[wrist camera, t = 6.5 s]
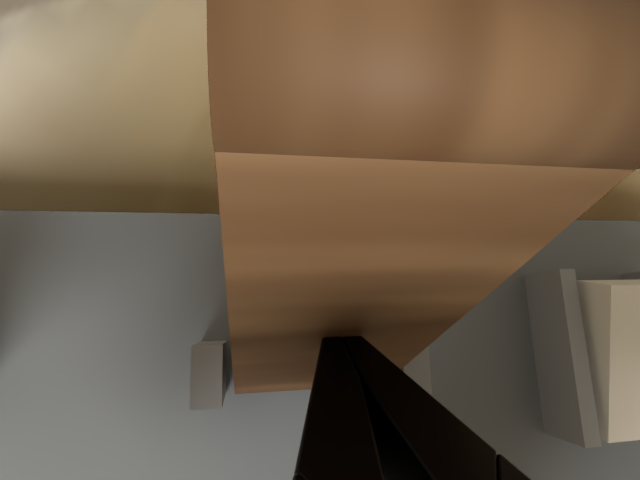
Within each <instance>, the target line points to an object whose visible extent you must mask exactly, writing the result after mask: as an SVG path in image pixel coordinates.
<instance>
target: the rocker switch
mask: <svg viewBox="0 0 640 480" xmlns="http://www.w3.org/2000/svg"><path fill="white" fill-rule="evenodd" d="M577 286H578V293H579V299H580V306H581V313H582V319H583V326H584V332H585V339H586V346H587V352H588V359H589V365H590V372H591V379H592V385H593V392H594V399H595V405H596V412H597V418H598V425H599V432H600V438H601V439H602V440H604V441H606V442H607V443H615V442H625V441H635V440H640V279H639V280H577Z"/></svg>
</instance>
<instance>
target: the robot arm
mask: <svg viewBox="0 0 640 480" xmlns="http://www.w3.org/2000/svg"><path fill="white" fill-rule="evenodd" d="M292 480H531V479H530V478H529V477H528V476H526V475H525V474H524V473H523V472H521V471H520V470H519V469H518V468H517V467H516V466H514V465H513V464H512V463H511V462H510V461H509V460H507V459H506V458H505V457H504V456H503V455H501V454H498V455H497V452H496V450H495V449H493V448H492V447H491V446H490V445H489V444H488V443H486V442H485V441H484V440H483V439H482V438H481V437H479V436H478V435H477V434H476V433H475V432H474V431H472V430H471V429H470V428H469V427H468V426H467V425H465V424H464V423H463V422H462V421H461V420H460V419H458V418H457V417H456V416H455V415H454V414H452V413H451V412H450V411H449V410H448V409H447V408H445V407H444V406H443V405H442V404H441V403H440V402H438V401H437V400H436V399H435V398H434V397H433V396H431V395H430V394H429V393H428V392H427V391H426V390H424V389H423V388H422V387H421V386H420V385H419V384H417V383H416V382H415V381H414V380H413V379H412V378H410V377H409V376H408V375H407V374H406V373H405V372H403V371H402V370H401V369H400V368H399V367H397V366H396V365H395V364H394V363H393V362H392V361H390V360H389V359H388V358H387V357H386V356H385V355H383V354H382V353H381V352H380V351H379V350H378V349H376V348H375V347H374V346H373V345H372V344H371V343H369V342H368V341H367V340H366V339H365V338H364V337H362V336H346V337H343V338H341V337H324V338H322V340H321V344H320V349H319V354H318V359H317V364H316V369H315V374H314V379H313V383H312V388H311V393H310V398H309V403H308V408H307V413H306V418H305V422H304V427H303V432H302V437H301V442H300V447H299V452H298V456H297V461H296V466H295V471H294V476H293V479H292Z"/></svg>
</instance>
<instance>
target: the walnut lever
mask: <svg viewBox="0 0 640 480" xmlns="http://www.w3.org/2000/svg"><path fill="white" fill-rule="evenodd" d="M207 52H208V81H209V100H210V115H211V127H212V137H213V145H214V151H215V161H216V173H217V185H218V197H219V209H220V221H221V233H222V246H223V258H224V270H225V282H226V294H227V306H228V318H229V331H230V343H231V355H232V367H233V379H234V391H235V394H244V393H261V392H277V391H293V390H310V389H311V388H312V383H313V379H314V374H315V369H316V364H317V359H318V354H319V349H320V344H321V340H322V338H324V337H341V338H343V337H346V336H362V337H364V338H365V339H366V340H367V341H368V342H369V343H371V344H372V345H373V346H374V347H375V348H376V349H378V350H379V351H380V352H381V353H382V354H383V355H385V356H386V357H387V358H388V359H389V360H390V361H392V362H393V363H394V364H395V365H396V366H397V367H399V368H400V369H402V368H403V367H404V366H406V365H407V364H408V363H409V362H410V361H411V360H413V359H414V358H415V357H416V356H417V355H418V354H420V353H421V352H422V351H423V350H424V349H425V348H427V347H428V346H429V345H430V344H431V343H432V342H434V341H435V340H436V339H437V338H438V337H439V336H441V335H442V334H443V333H444V332H445V331H446V330H448V329H449V328H450V327H451V326H452V325H453V324H455V323H456V322H457V321H458V320H459V319H461V318H462V317H463V316H464V315H465V314H466V313H468V312H469V311H470V310H471V309H472V308H473V307H475V306H476V305H477V304H478V303H479V302H480V301H482V300H483V299H484V298H485V297H486V296H487V295H489V294H490V293H491V292H492V291H493V290H494V289H496V288H497V287H498V286H499V285H500V284H501V283H503V282H504V281H505V280H506V279H507V278H508V277H510V276H511V275H512V274H513V273H514V272H515V271H517V270H518V269H519V268H520V267H521V266H522V265H524V264H525V263H526V262H527V261H528V260H529V259H531V258H532V257H533V256H534V255H535V254H536V253H538V252H539V251H540V250H541V249H542V248H543V247H545V246H546V245H547V244H548V243H549V242H550V241H552V240H553V239H554V238H555V237H556V236H557V235H559V234H560V233H561V232H562V231H563V230H564V229H566V228H567V227H568V226H569V225H570V224H571V223H573V222H574V221H575V220H576V219H577V218H578V217H580V216H581V215H582V214H583V213H584V212H585V211H587V210H588V209H589V208H590V207H591V206H592V205H594V204H595V203H596V202H597V201H598V200H599V199H601V198H602V197H603V196H604V195H605V194H606V193H608V192H609V191H610V190H611V189H612V188H613V187H615V186H616V185H617V184H618V183H619V182H620V181H622V180H623V179H624V178H625V177H626V176H627V175H629V174H630V173H631V172H632V171H633V170H636V169H639V168H640V0H207Z"/></svg>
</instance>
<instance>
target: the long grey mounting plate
mask: <svg viewBox="0 0 640 480" xmlns="http://www.w3.org/2000/svg"><path fill="white" fill-rule="evenodd" d="M639 279H640V221H620V220H575V221H574V222H573V223H571V224H570V225H569V226H568V227H567V228H566V229H564V230H563V231H562V232H561V233H560V234H559V235H557V236H556V237H555V238H554V239H553V240H552V241H550V242H549V243H548V244H547V245H546V246H545V247H543V248H542V249H541V250H540V251H539V252H538V253H536V254H535V255H534V256H533V257H532V258H531V259H529V260H528V261H527V262H526V263H525V264H524V265H522V266H521V267H520V268H519V269H518V270H517V271H515V272H514V273H513V274H512V275H511V276H510V277H508V278H507V279H506V280H505V281H504V282H503V283H501V284H500V285H499V286H498V287H497V288H496V289H494V290H493V291H492V292H491V293H490V294H489V295H487V296H486V297H485V298H484V299H483V300H482V301H480V302H479V303H478V304H477V305H476V306H475V307H473V308H472V309H471V310H470V311H469V312H468V313H466V314H465V315H464V316H463V317H462V318H461V319H459V320H458V321H457V322H456V323H455V324H453V325H452V326H451V327H450V328H449V329H448V330H446V331H445V332H444V333H443V334H442V335H441V336H439V337H438V338H437V339H436V340H435V341H434V342H432V343H431V344H430V345H429V346H428V347H427V348H425V349H424V350H423V351H422V352H421V353H420V354H418V355H417V356H416V357H415V358H414V359H413V360H411V361H410V362H409V363H408V364H407V365H406V366H404V367H403V368H402V369H401V370H402V371H403V372H405V373H406V374H407V375H408V376H409V377H410V378H412V379H413V380H414V381H415V382H416V383H417V384H419V385H420V386H421V387H422V388H423V389H424V390H426V391H427V392H428V393H429V394H430V395H431V396H433V397H434V398H435V399H436V400H437V401H438V402H440V403H441V404H442V405H443V406H444V407H445V408H447V409H448V410H449V411H450V412H451V413H452V414H454V415H455V416H456V417H457V418H458V419H460V420H461V421H462V422H463V423H464V424H465V425H467V426H468V427H469V428H470V429H471V430H472V431H474V432H475V433H476V434H477V435H478V436H479V437H481V438H482V439H483V440H484V441H485V442H486V443H488V444H489V445H490V446H491V447H492V448H493V449H495V450H496V452H497V455H498V454H501V455H503V456H504V457H505V458H506V459H507V460H509V461H510V462H511V463H512V464H513V465H514V466H516V467H517V468H518V469H519V470H520V471H521V472H523V473H524V474H525V475H526V476H528V477H529V478H530V479H531V480H640V440H635V441H625V442H615V443H607V442H606V441H604V440H602V439H601V438H600V432H599V425H598V418H597V412H596V405H595V399H594V392H593V385H592V379H591V372H590V365H589V359H588V352H587V346H586V339H585V332H584V326H583V319H582V313H581V306H580V299H579V293H578V286H577V280H639ZM310 393H311V389H310V390H293V391H277V392H261V393H244V394H235V391H234V379H233V367H232V355H231V343H230V331H229V318H228V306H227V294H226V282H225V270H224V258H223V246H222V233H221V221H220V214H198V213H138V212H78V211H18V210H0V480H292V479H293V476H294V471H295V466H296V461H297V456H298V452H299V447H300V442H301V437H302V432H303V427H304V422H305V418H306V413H307V408H308V403H309V398H310Z"/></svg>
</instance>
